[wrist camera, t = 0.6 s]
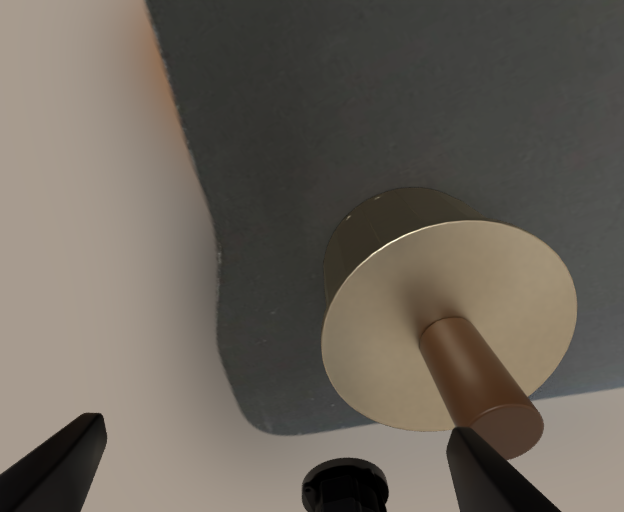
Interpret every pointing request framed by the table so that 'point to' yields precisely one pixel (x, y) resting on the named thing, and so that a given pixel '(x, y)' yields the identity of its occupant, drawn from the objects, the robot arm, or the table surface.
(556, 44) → the table surface
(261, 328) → the table surface
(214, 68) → the table surface
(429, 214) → the pot
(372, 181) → the table surface
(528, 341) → the lid
